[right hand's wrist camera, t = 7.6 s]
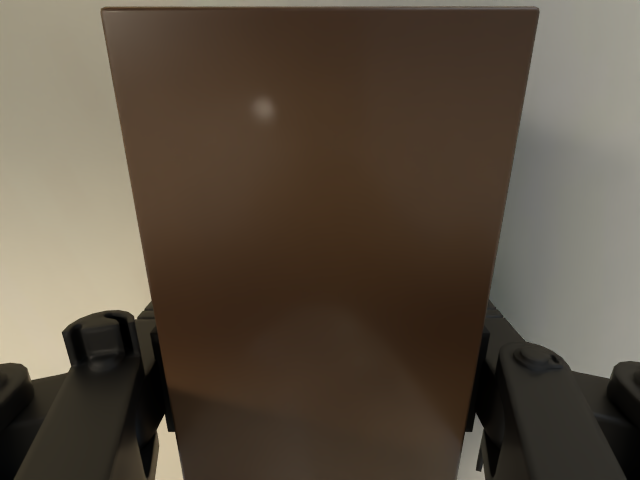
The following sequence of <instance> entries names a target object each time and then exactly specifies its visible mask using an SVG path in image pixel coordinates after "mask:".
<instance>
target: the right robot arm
mask: <svg viewBox="0 0 640 480" xmlns="http://www.w3.org/2000/svg"><path fill="white" fill-rule="evenodd" d="M62 335H63V338H64V342H65V345H66V349H67V352H68V356H69V360H70V363H71V368H70V370H69V372H68V373H65V374H60V375H55V376H50V377H46V378H41V379H36V380H31V379H30V376H29V373H28V370H27V368H26V367H25V366H23V365H22V364H16V363H6V364H0V480H155V474H156V466H157V459H158V451H159V441H158V435H157V428H158V426H159V424H160V422H161V420H162V418H163V416H164V414H165V417H166V423H167V428H168V432H175V428H174V423H173V417H172V411H171V406H170V400H169V395H168V389H167V383H166V378H165V372H164V366H163V361H162V355H161V350H160V344H159V338H158V333H157V327H156V322H155V316H154V310H153V305H152V301H151V302H150V303H149V304H148V306H147V307H146V308H145V310H144V311H142V313H141V314H140V315H139V316H138V317H137V319H136V320H134V316H133V315H132V314H130V313H129V312H126V311H121V310H111V311H103V312H98V313H93V314H91V315H88V316H85V317H83V318H80V319H78V320H77V321H75V322H73V323H71V324H70V325H68V326H67V327H66V328H65V329H64V331H63V332H62ZM475 413H476V414H477V416H478V418H479V420H480V422H481V423H482V425H483V427H484V430H483V435H482V440H481V445H480V450H479V455H478V460H477V466H476V471H480V472H481V470H482V465H484V473H485V480H640V362H633V361H627V362H620V363H618V364H617V365H615V366H614V368H613V371H612V374H611V377H610V379H608V378H603V377H598V376H593V375H588V374H583V373H578V372H574V371H571V369H570V367H569V366H568V364H567V363H566V362H565V361H564V359H563V358H562V357H560V356H559V355H557V354H556V353H554V352H553V351H551V350H549V349H547V348H545V347H542V346H540V345H537V344H533V343H529V342H525V341H524V339H523V338H522V337H521V336H520V335H519V334H518V333H517V331H516V330H515V329H514V328H513V327H512V326H511V324H510V323H509V322H508V321H507V320H506V319H505V318H503V315H502V314H501V313H500V312H499V311H498V310H496V307H495V306H494V305H493V304H492V303H491V301H490V300H488V305H487V311H486V316H485V322H484V328H483V333H482V339H481V345H480V350H479V356H478V361H477V367H476V373H475V378H474V384H473V390H472V395H471V401H470V407H469V412H468V418H467V423H466V429H465V432H472V429H473V424H474V419H475Z"/></svg>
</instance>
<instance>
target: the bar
mask: <svg viewBox="0 0 640 480" xmlns="http://www.w3.org/2000/svg"><path fill="white" fill-rule="evenodd" d="M101 18H102V24H103V29H104V35H105V41H106V46H107V52H108V57H109V63H110V69H111V74H112V80H113V85H114V91H115V97H116V102H117V108H118V114H119V119H120V125H121V130H122V136H123V142H124V147H125V153H126V159H127V164H128V170H129V175H130V181H131V187H132V192H133V198H134V203H135V209H136V215H137V220H138V226H139V232H140V237H141V243H142V248H143V254H144V260H145V265H146V271H147V277H148V282H149V288H150V293H151V299H152V305H153V310H154V316H155V322H156V327H157V333H158V338H159V344H160V350H161V355H162V361H163V366H164V372H165V378H166V383H167V389H168V395H169V400H170V406H171V411H172V417H173V423H174V428H175V434H176V440H177V445H178V451H179V456H180V462H181V468H182V473H183V479H184V480H457V474H458V468H459V463H460V457H461V452H462V446H463V440H464V435H465V429H466V423H467V418H468V412H469V407H470V401H471V395H472V390H473V384H474V378H475V373H476V367H477V361H478V356H479V350H480V345H481V339H482V333H483V328H484V322H485V316H486V311H487V305H488V300H489V294H490V288H491V283H492V277H493V271H494V266H495V260H496V255H497V249H498V243H499V238H500V232H501V226H502V221H503V215H504V209H505V204H506V198H507V193H508V187H509V181H510V176H511V170H512V164H513V159H514V153H515V148H516V142H517V136H518V131H519V125H520V119H521V114H522V108H523V103H524V97H525V91H526V86H527V80H528V74H529V69H530V63H531V58H532V52H533V46H534V41H535V35H536V29H537V24H538V18H539V8H537V7H534V6H421V7H104V8H101Z"/></svg>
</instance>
